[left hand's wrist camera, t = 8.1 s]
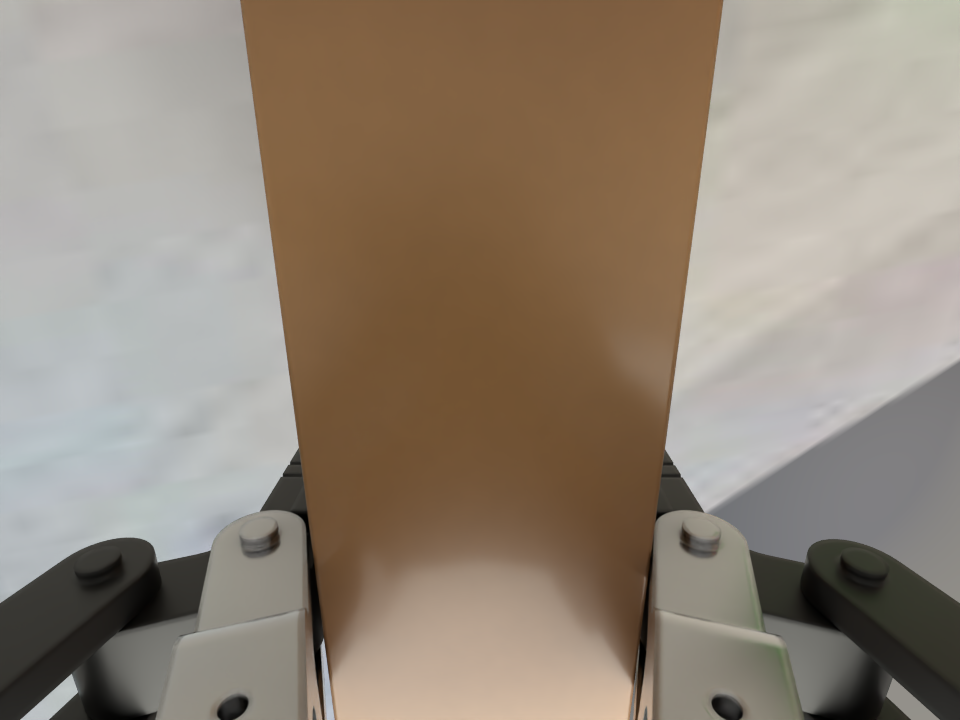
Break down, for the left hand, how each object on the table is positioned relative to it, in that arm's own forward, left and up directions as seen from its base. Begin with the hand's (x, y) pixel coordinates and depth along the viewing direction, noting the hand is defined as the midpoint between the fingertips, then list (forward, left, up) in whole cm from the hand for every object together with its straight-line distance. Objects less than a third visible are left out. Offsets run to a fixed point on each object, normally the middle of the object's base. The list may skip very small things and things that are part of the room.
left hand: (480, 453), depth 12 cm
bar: (+9, +2, -5) cm, 11 cm away
